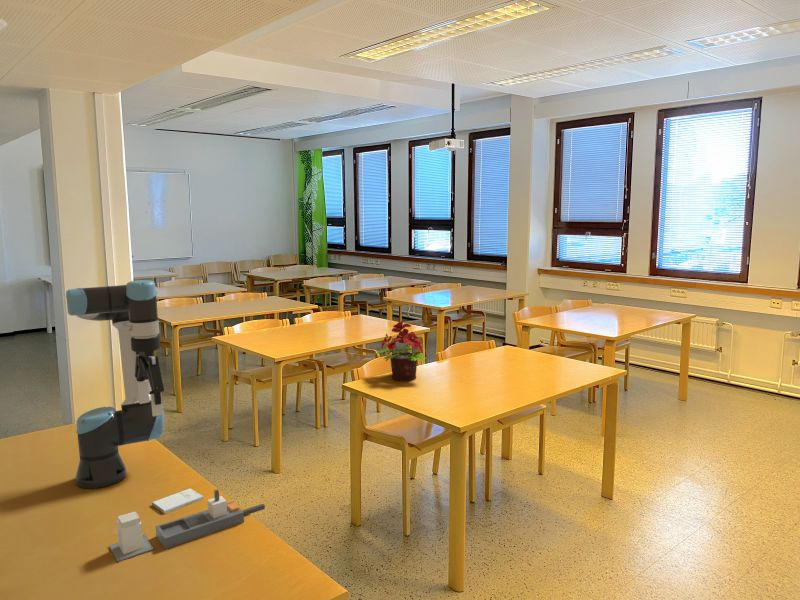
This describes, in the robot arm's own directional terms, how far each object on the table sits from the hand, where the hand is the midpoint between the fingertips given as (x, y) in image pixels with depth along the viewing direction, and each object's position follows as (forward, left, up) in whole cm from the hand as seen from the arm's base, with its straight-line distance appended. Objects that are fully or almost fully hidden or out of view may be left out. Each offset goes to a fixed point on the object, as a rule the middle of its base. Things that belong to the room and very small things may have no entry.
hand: (151, 408), depth 173 cm
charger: (+13, -11, -32) cm, 37 cm away
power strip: (+15, +11, -33) cm, 38 cm away
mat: (+13, -11, -33) cm, 37 cm away
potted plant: (-68, +140, -33) cm, 159 cm away
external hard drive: (-5, +7, -33) cm, 35 cm away
